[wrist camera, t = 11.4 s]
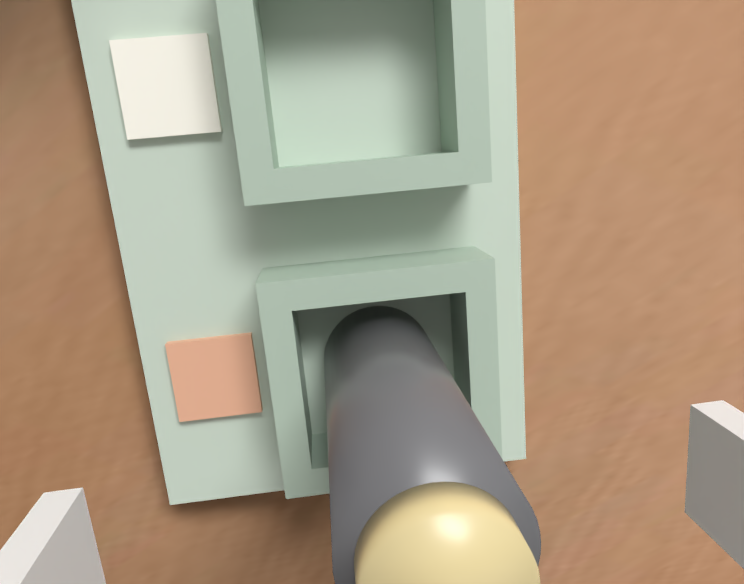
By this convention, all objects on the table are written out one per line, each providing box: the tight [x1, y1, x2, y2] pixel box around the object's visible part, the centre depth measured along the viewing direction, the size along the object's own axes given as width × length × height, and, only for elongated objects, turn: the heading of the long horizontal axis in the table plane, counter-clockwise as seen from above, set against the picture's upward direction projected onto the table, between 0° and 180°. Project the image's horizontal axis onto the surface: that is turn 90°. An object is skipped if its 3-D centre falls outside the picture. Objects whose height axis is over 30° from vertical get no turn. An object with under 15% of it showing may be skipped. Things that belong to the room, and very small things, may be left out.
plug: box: [324, 306, 541, 584], centre depth 16 cm, size 4×4×12 cm
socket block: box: [71, 0, 526, 505], centre depth 20 cm, size 14×20×4 cm
